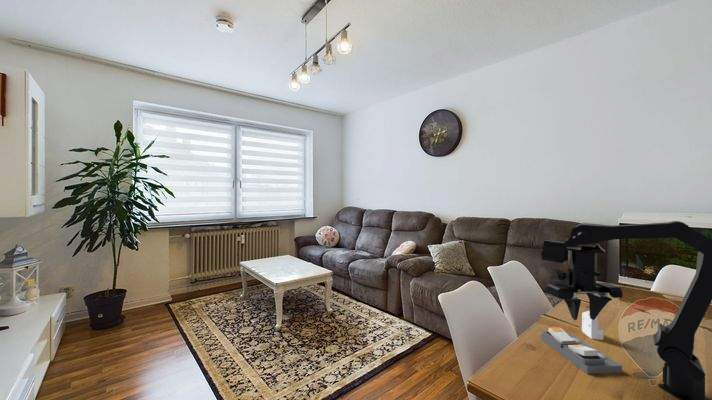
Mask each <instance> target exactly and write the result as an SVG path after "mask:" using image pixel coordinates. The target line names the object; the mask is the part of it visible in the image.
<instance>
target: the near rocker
mask: <svg viewBox="0 0 712 400" xmlns="http://www.w3.org/2000/svg"><path fill="white" fill-rule="evenodd" d="M568 348H569V349H571V350H572V351H574V352H575V353H578V354H581V355H583V356H598V352H597V351H598V349H596V348H594V349H592V348H589V347H586V346H583V345H568ZM595 349H596V350H595Z"/></svg>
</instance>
